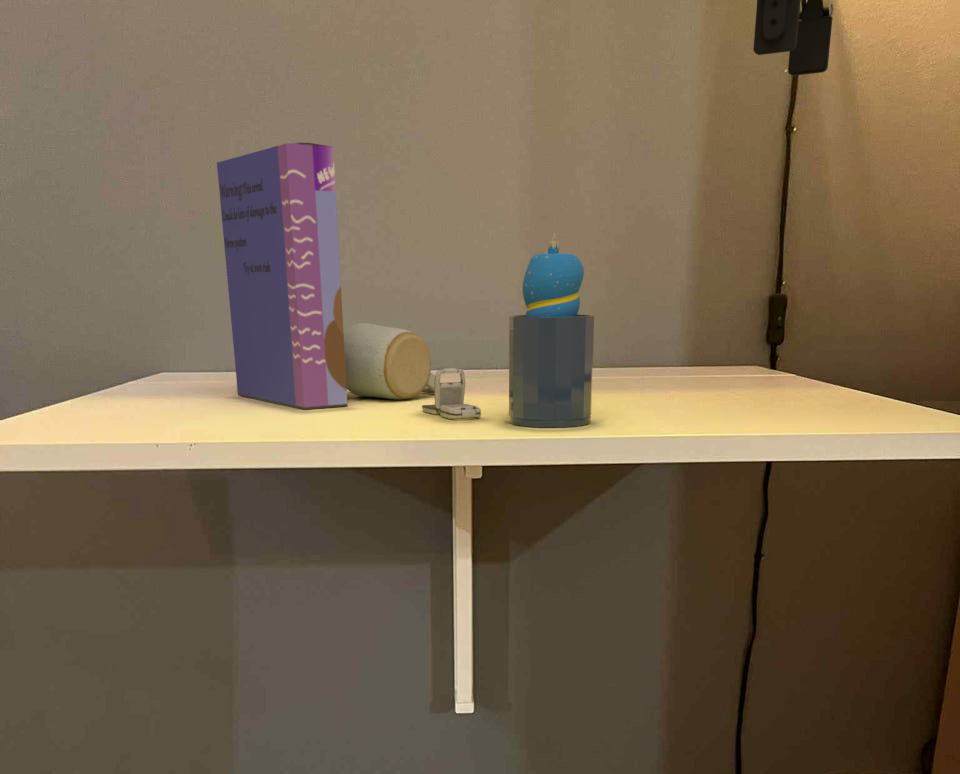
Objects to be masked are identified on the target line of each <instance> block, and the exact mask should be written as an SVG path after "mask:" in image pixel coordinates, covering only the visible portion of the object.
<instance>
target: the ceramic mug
mask: <svg viewBox="0 0 960 774" xmlns="http://www.w3.org/2000/svg"><path fill="white" fill-rule="evenodd" d="M343 334H344V352H345V371H346V389H347V392H350V393H351V394H353V395H356V396H359V397H366V398H367V397H368V398H376V399H387V400H395V401H399V400H401V401H402V400H407V399H412V398H415V397H416V396H418V395H419V394H420V393H424V394H429V395H432V394H434V395H435V385H434V383H435V377H436V374H434V373H432V357H431V352H430V349H429V347H428V344H427V343H426V341H425V340H424V339H423V338H422V337H421V336H420V335H418V334H416V333H415V332H414V331H413V332H412V331H410V330H408V329H404V328H398V327H391V326H385V325H378V324H374V323H369V322H360V323H356V324H354V325H352V326H350V327H349V328H348V329H347V330H346V331H344V332H343Z"/></svg>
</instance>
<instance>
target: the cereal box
mask: <svg viewBox="0 0 960 774" xmlns="http://www.w3.org/2000/svg"><path fill="white" fill-rule="evenodd" d="M334 150H335V149H334V146H332V145H326V144H319V143H313V142H294V143H293V142H292V143H290V142H289V143H282V144H278V145H276V146H271V147H268V148H265V149H261V150H258V151H254V152H250V153H246V154H243V155H240V156H236V157H232V158H229V159H224V160H221V161H218V162H216V170H217V179H218V181H217V182H218V191H219V203H220V213H221V223H222V224H221V225H222V235H223V246H224V256H225V268H226V278H227V279H226V280H227V289H228V290H227V292H228V301H229V302H228V303H229V311H230V322H231V323H230V324H231V334H232V335H231V336H232V342H233V343H232V344H233V355H234V366H235V377H236V388H237V396H240V397H243V398H248V399H254V400H258V401H263V402H267V403H271V404H277V405H281V406H286V407H291V408H295V409H297V410H302V411H303V410H304V411H305V410H306V411H307V410H318V409H331V408H342V407H343V408H344V407H348V393H347V392H348V390H347V389H346V371H345V352H344V318H343V299H342V283H341V282H342V281H341V264H340V263H341V262H340V260H341V259H340V245H339V244H340V243H339V226H338V223H339V222H338V207H337V188H336V169H335V153H334V152H335V151H334Z"/></svg>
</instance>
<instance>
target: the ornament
mask: <svg viewBox="0 0 960 774" xmlns="http://www.w3.org/2000/svg"><path fill="white" fill-rule="evenodd" d="M559 248H560V241H559V240H556V232H553V233H552V237H551V240H550V241H547V253H536V254H534V255H532V257H531V258H530V260H529V262H528V264H527V267H526V270H525V273H524V277H523V280H522V298H523V301H524V304H525V306H526V312H525V315H526V316H525V317H576V316H577V315H579V311H580V307H581V298H580V295H579V292H580V288H581V286H582V284H583V280H584V277H585V276H584V275H585V270H584V266H583V263H582V261H581V259H580V258H579V257H578V256H576V254H573V253H559V250H560V249H559Z"/></svg>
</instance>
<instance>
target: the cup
mask: <svg viewBox="0 0 960 774" xmlns="http://www.w3.org/2000/svg"><path fill="white" fill-rule="evenodd" d="M525 316H526V314H514V315H513V314H512V315H509V316H508V361H509V362H508V417H509V423H510V424H511V425H515V426H518V427H519V426H520V427H527V428H528V427H529V428H546V429H547V428H548V429H549V428H553V429H554V428H555V429H556V428H572V427H581V426H586V425H589V424H590V423H591V422H592V409H593V408H592V406H593V405H592V404H593V403H592V401H593V375H594V374H593V373H594V372H593V371H594V339H595V337H594V336H595V315H593V314H577V316H576V317H525Z"/></svg>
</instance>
